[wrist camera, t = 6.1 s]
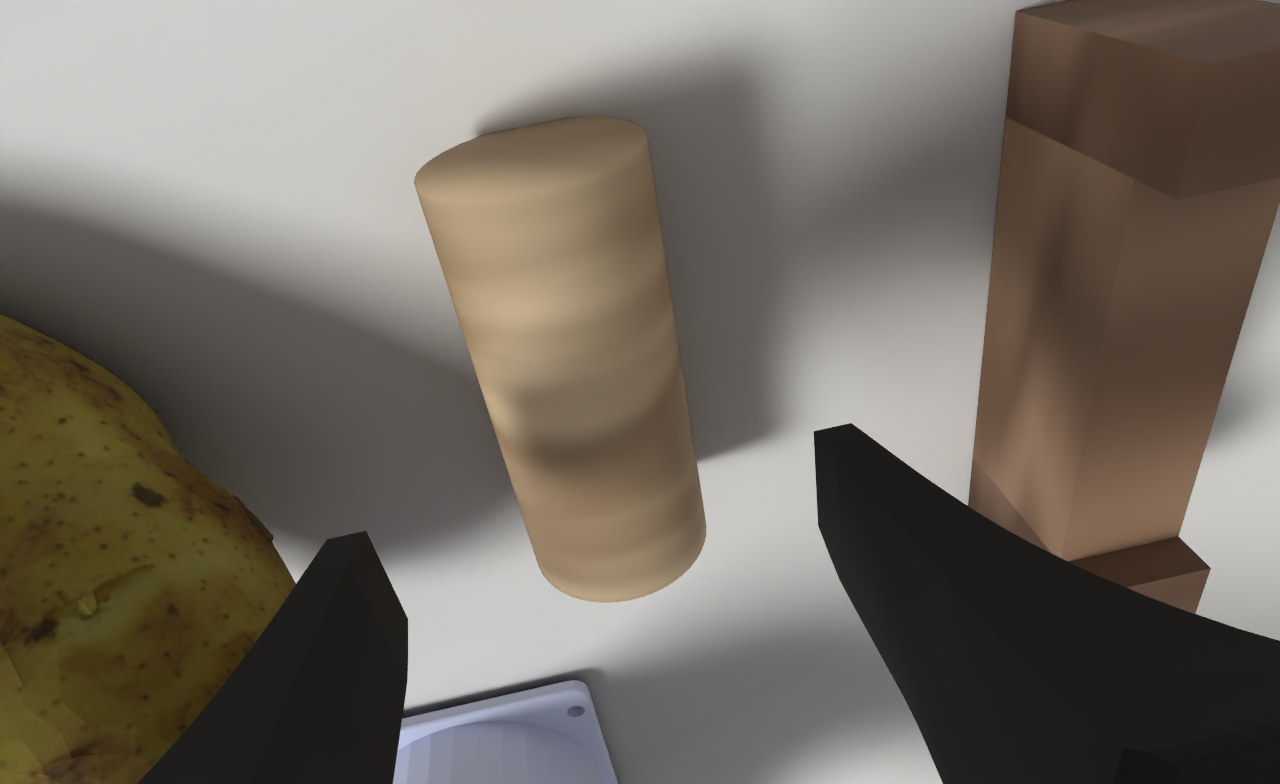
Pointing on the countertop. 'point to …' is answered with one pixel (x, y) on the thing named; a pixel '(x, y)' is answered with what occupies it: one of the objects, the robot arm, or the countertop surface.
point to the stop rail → (1123, 273)
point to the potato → (111, 573)
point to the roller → (574, 345)
